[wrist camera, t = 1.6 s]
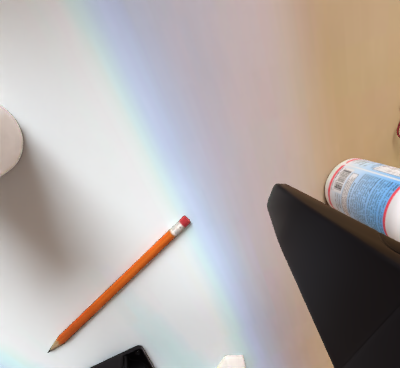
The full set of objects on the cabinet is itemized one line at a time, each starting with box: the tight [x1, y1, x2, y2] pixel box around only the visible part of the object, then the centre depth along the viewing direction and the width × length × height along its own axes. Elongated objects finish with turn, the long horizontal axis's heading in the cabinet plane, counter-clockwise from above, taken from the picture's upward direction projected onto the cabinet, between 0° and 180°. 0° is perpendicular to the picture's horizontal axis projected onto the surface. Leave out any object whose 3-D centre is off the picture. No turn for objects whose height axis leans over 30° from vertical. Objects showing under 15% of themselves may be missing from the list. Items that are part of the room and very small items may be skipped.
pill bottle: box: [325, 158, 400, 242], centre depth 24 cm, size 6×6×11 cm
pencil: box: [48, 216, 190, 353], centre depth 26 cm, size 1×19×1 cm, turn 132°
